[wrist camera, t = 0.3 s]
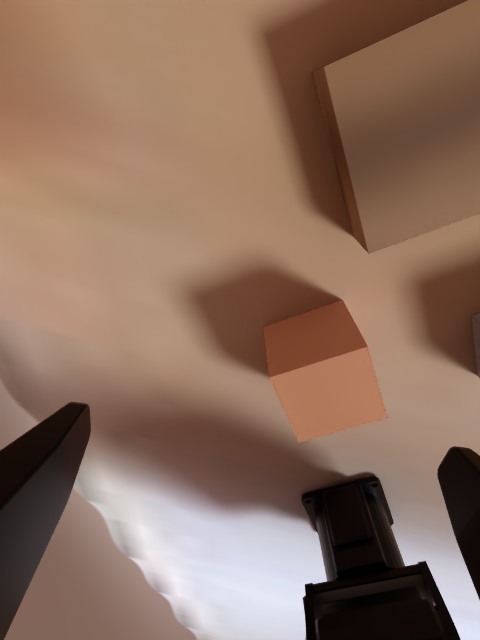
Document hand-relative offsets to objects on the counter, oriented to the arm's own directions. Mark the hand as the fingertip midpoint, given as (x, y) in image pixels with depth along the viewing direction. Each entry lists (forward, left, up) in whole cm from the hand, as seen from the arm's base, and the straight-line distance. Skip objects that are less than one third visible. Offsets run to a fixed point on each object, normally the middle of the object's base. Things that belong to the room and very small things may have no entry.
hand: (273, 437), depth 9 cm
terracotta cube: (-7, -1, -13) cm, 15 cm away
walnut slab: (+3, -9, -14) cm, 17 cm away
